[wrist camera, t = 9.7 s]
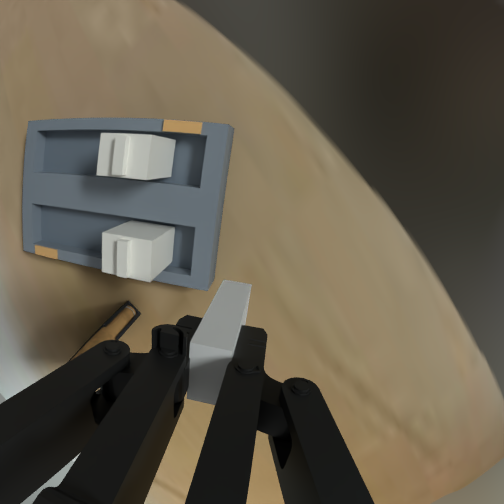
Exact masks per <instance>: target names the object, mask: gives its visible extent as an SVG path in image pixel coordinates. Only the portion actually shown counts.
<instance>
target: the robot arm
mask: <svg viewBox="0 0 504 504" xmlns="http://www.w3.org/2000/svg"><path fill="white" fill-rule="evenodd" d="M251 285H252V284H246V283H240V282H235V281H229V280H223V282H222V284H221V286H220V287H219V289H218V291H217V293H216V295H215V297H214V299H213V300H212V302H211V304H210V306H209V308H208V310H207V312H206V313H205V315H204V317H203V318H199V317H194V316H190V315H186V316H184V317H183V318H181V319H179V321H178V322H177V324H176V325H169V324H165V325H159V326H156V327H154V328H153V329H152V349H151V350H150V352H149V353H130V348H129V346H128V345H127V344H126V343H124V342H122V341H119V340H105V341H103V342H100V343H98V344H97V345H95V346H94V347H92V348H90V349H89V350H87V351H85V352H84V353H82V354H81V355H79V356H77V357H76V358H74V359H73V360H71V361H69V362H68V363H66V364H64V365H63V366H61V367H60V368H58V369H56V370H55V371H53V372H51V373H50V374H48V375H47V376H45V377H43V378H42V379H40V380H39V381H37V382H35V383H34V384H32V385H30V386H29V387H27V388H26V389H24V390H22V391H21V392H19V393H17V394H16V395H14V396H13V397H11V398H9V399H8V400H6V401H5V402H3V403H1V404H0V504H20V503H22V502H23V501H24V500H25V499H26V498H27V497H29V496H30V495H31V494H32V493H33V492H35V491H36V490H37V489H38V488H40V487H41V486H42V485H43V484H44V483H46V482H47V481H48V480H49V479H50V478H51V477H53V476H54V475H55V474H56V473H57V472H59V471H60V470H61V469H62V468H63V467H64V466H65V465H67V464H68V463H69V462H70V461H71V460H72V459H74V458H75V457H76V456H77V455H78V454H79V453H80V455H79V456H78V458H77V459H76V461H75V462H74V464H73V465H72V467H71V468H70V470H69V472H68V473H67V474H66V476H65V478H64V479H63V481H62V482H61V484H60V485H59V486H57V487H47V488H45V489H43V490H42V491H41V492H40V494H39V495H38V496H37V498H36V499H35V501H34V502H33V504H144V502H145V499H146V497H147V494H148V492H149V489H150V487H151V485H152V482H153V480H154V477H155V475H156V472H157V470H158V468H159V465H160V463H161V460H162V458H163V456H164V453H165V451H166V448H167V446H168V443H169V441H170V439H171V436H172V434H173V431H174V429H175V426H176V424H177V422H178V419H179V417H180V414H181V412H182V410H183V407H184V396H185V394H186V392H187V399H191V400H195V401H200V402H204V403H209V404H213V405H215V408H214V411H213V414H212V418H211V421H210V424H209V427H208V431H207V434H206V437H205V440H204V444H203V447H202V450H201V453H200V457H199V460H198V463H197V466H196V469H195V473H194V476H193V479H192V482H191V486H190V489H189V492H188V495H187V498H186V502H185V504H246V501H247V494H248V487H249V481H250V474H251V467H252V460H253V453H254V446H255V438H256V431H257V430H258V431H261V432H263V433H266V434H268V439H269V444H270V448H271V452H272V456H273V460H274V464H275V467H276V471H277V475H278V479H279V483H280V487H281V491H282V495H283V499H284V502H285V504H374V502H373V500H372V498H371V495H370V493H369V491H368V489H367V487H366V485H365V483H364V481H363V479H362V477H361V475H360V473H359V471H358V468H357V466H356V464H355V462H354V460H353V458H352V456H351V454H350V452H349V450H348V448H347V446H346V444H345V441H344V439H343V437H342V435H341V433H340V431H339V429H338V427H337V425H336V423H335V421H334V419H333V417H332V415H331V412H330V410H329V408H328V406H327V404H326V402H325V400H324V398H323V396H322V394H321V392H320V390H319V388H318V387H317V385H316V384H315V383H313V382H312V381H310V380H307V379H304V378H297V377H295V378H289V379H287V380H285V381H284V383H281V382H278V381H276V380H274V379H272V378H270V377H269V376H268V375H267V374H266V373H265V371H264V360H265V351H266V342H267V334H266V332H265V330H264V329H262V328H256V327H251V326H245V323H246V316H247V310H248V304H249V298H250V291H251ZM99 388H101V389H99ZM97 389H99V390H98V391H96V390H97ZM95 391H96V392H95Z"/></svg>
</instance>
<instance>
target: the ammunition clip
mask: <svg viewBox="0 0 504 504" xmlns="http://www.w3.org/2000/svg"><path fill="white" fill-rule="evenodd" d="M140 315H141V313H140V312H139V311H138V310H137V309H136V308H135V307H134V306H133V305H132V304H131V303H130V302H129V301H127V302H126V303H125V304H124V305H123V306H122V307H121V308H120V309H119V310H118V311H116V312H115V313H114V314H113V315H112V316H111V317H110V318H109V319H108V320H107V321H106V322H105V323H104V324H103V325H102V326H101V327H100V328H99V329H98V330H97V331H96V332H95V333H94V334H93V335H92V337H91V338H90V339H89V340H88V341H87V342H86V343H85V344H84V345H83V346H82V347H81V348H80V349H79V350H78V351H77V352H76V354H75V355H74V356H73V357H72V358H71V359H70V360H69V361H71V360H73V359H74V358H76V357H77V356H79V355H81V354H82V353H84V352H85V351H87V350H89V349H90V348H92V347H94V346H95V345H97V344H98V343H100V342H103V341H105V340H118V339H119V338H120V337H121V336H122V335H123V334H124V333H125V331H126V330H127V329H128V328H129V327H130V326H131V325H132V324H133V322H134V321H135V320H136V319H137V318H138V317H139V316H140ZM69 361H68V362H69ZM68 362H67V363H68Z"/></svg>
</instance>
